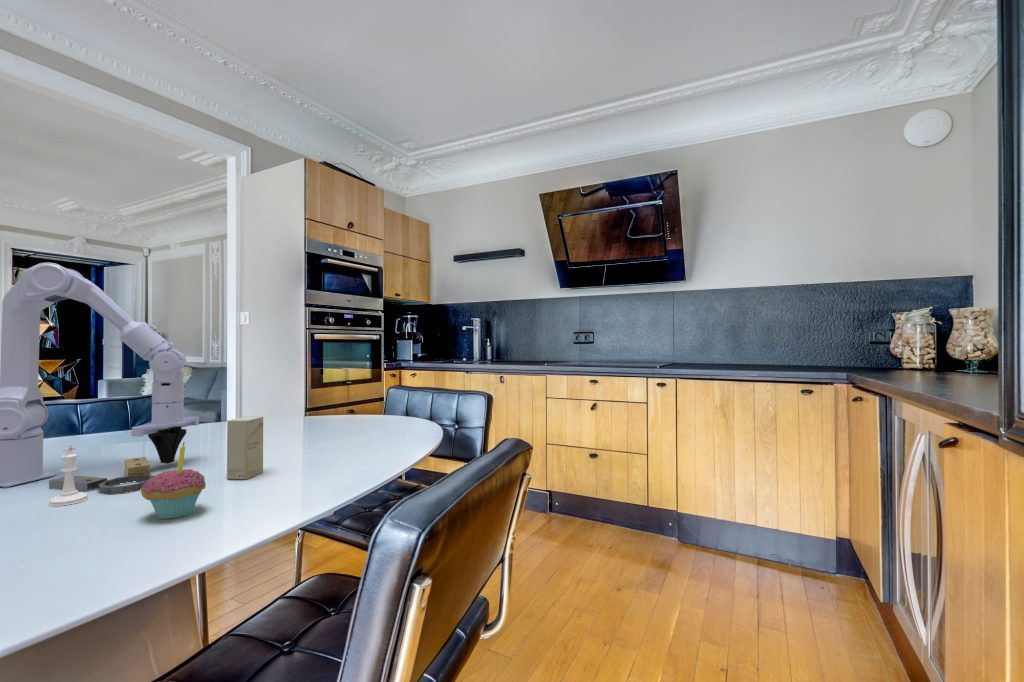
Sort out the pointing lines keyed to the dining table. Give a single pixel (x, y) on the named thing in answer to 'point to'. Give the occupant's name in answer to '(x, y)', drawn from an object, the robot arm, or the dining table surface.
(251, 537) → the dining table surface
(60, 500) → the chess piece
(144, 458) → the tan wooden block
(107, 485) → the dark gray flat piece
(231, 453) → the skincare box
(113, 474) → the dining table surface
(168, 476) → the cupcake
